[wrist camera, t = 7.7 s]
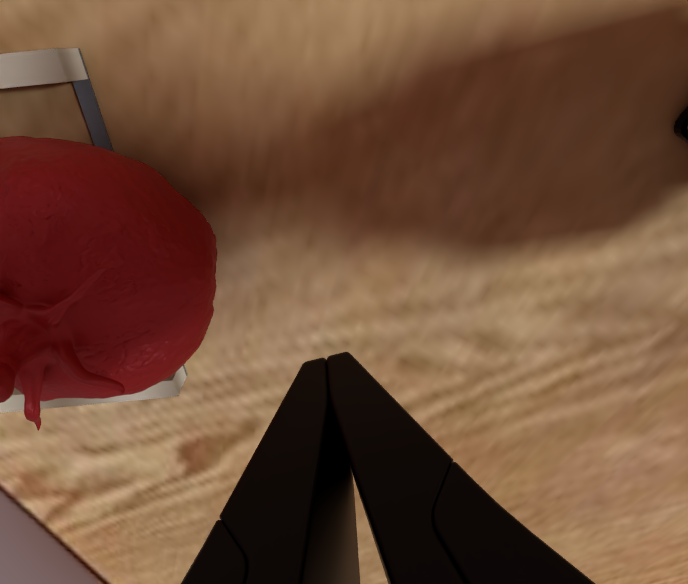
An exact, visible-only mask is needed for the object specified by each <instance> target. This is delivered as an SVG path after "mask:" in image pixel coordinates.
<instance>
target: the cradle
mask: <svg viewBox="0 0 688 584" xmlns="http://www.w3.org/2000/svg"><path fill="white" fill-rule="evenodd" d="M69 81H72V82H73V85H74V88H75V91H76V94H77V96H78V99H79V102H80V105H81V108H82V111H83V114H84V117H85V119H86V122H87V125H88V128H89V131H90V134H91V137H92V140H93V143H94V145H95V146H98V147H102V148H105V149H108V150H111V151H113V149H112V146H111V143H110V140H109V137H108V134H107V131H106V128H105V125H104V122H103V119H102V116H101V113H100V110H99V107H98V104H97V101H96V97H95V94H94V91H93V88H92V85H91V82H90V79H89V76H88V73H87V70H86V67H85V64H84V61H83V58H82V55H81V52H80V49H79V48H53V49H44V50H34V51H24V52H15V53H5V54H0V89H2V88H11V87H21V86H31V85H40V84H50V83H60V82H69ZM186 377H187V373H186V370H185V367H184V365H183V366H182V367H181V368H180V369H179V370H177V371H176V372H175V373H174V374H172V375H171V376H170V377H168V378H167V379H165V380H163V381H161V382H159V383H158V384H156V385H153V386H151V387H149V388H147V389H146V390H144V391H142V392H139V393H135V394H131V395H121V396H115V397H110V398H105V399H98V398H95V399H88V398H87V399H85V398H58V399H54V400H49V401H44V402H43V401H40V409H46V408H57V407H68V406H79V405H90V404H100V403H111V402H122V401H133V400H144V399H154V398H165V397H176V396H178V395H179V393H180V391H181V388H182V386H183V384H184V381H185V379H186ZM24 402H25V399H24V395H23V394H22V393H21V392H20V391H19V390H17V389H16V388H14V391H13V394H12V396H11V397H10V398H9V399H8V400H6V401H5V402H1V403H0V413H3V412H14V411H24Z"/></svg>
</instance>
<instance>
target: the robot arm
mask: <svg viewBox="0 0 688 584" xmlns="http://www.w3.org/2000/svg"><path fill="white" fill-rule="evenodd" d="M687 127H688V107H687V108H686V109H685V110H684V112H683V113H682V114H681V115H680V116H679V117H678V119H677V121H676V122H675V125H674V132H675V133H676V135H677V136H678V137H680V138H681V139H682V140H684V141H685V142H686V143H687V144H688V129H687ZM352 473H353V475H352ZM353 476H354V479H355V482H356V485H357V489H358V492H359V495H360V498H361V501H362V504H363V507H364V510H365V513H366V516H367V519H368V522H369V525H370V528H371V531H372V535H373V538H374V541H375V544H376V547H377V550H378V553H379V556H380V559H381V562H382V565H383V568H384V571H385V574H386V578H387V581H388V584H595V583H594V582H593V581H591V580H590V579H589V578H588V577H587V576H585V575H584V574H583V573H582V572H580V571H579V570H578V569H577V568H575V567H574V566H573V565H572V564H570V563H569V562H568V561H567V560H565V559H564V558H563V557H562V556H560V555H559V554H558V553H557V552H556V551H554V550H553V549H552V548H551V547H549V546H548V545H547V544H546V543H544V542H543V541H542V540H541V539H539V538H538V537H537V536H536V535H534V534H533V533H532V532H531V531H530V530H528V529H527V528H526V527H525V526H524V525H523V524H521V523H520V522H519V521H518V520H517V519H516V518H514V517H513V516H512V515H511V514H510V513H508V512H507V511H506V510H505V509H504V508H503V507H501V506H500V505H499V504H498V503H497V502H496V501H495V500H494V499H493V498H492V497H491V496H490V495H489V494H488V493H487V492H486V491H485V490H483V489H482V488H481V487H480V486H479V485H478V484H477V483H476V482H475V481H474V480H473V479H472V478H471V477H470V476H469V475H468V474H467V473H466V472H465V471H464V470H463V469H462V468H461V467H460V466H459V465H458V464H457V463H456V462H453V459H452V458H451V457H450V456H449V455H448V454H447V453H446V452H445V451H444V450H443V448H442V447H441V446H440V445H439V444H438V443H437V442H436V441H435V440H434V439H433V438H432V437H431V436H430V435H429V434H428V433H427V432H426V431H425V430H424V429H423V428H422V427H421V426H420V425H419V424H418V423H417V422H416V421H415V420H414V419H413V418H412V417H411V416H410V415H409V414H408V413H407V411H406V410H405V409H404V408H403V407H402V406H401V405H400V404H399V403H398V402H397V401H396V400H395V399H394V398H393V397H392V396H391V395H390V394H389V393H388V392H387V391H386V390H385V389H384V388H383V387H382V386H381V385H380V384H379V383H378V382H377V381H376V380H375V379H374V378H373V377H372V376H371V375H370V373H369V372H368V371H367V370H366V369H365V368H364V367H363V366H362V365H361V364H360V363H359V362H358V361H357V360H356V359H355V358H354V357H353V356H352V355H351V354H350V353H349V352H343V353H339V354H335V355H331V356H329V357H328V358H327V360H326V359H325V358H319V359H315V360H311V361H307V362H305V363H304V364H303V365H302V367H301V368H300V370H299V372H298V374H297V376H296V378H295V379H294V381H293V383H292V385H291V387H290V388H289V390H288V392H287V394H286V396H285V398H284V399H283V401H282V403H281V405H280V407H279V409H278V410H277V412H276V414H275V416H274V418H273V419H272V421H271V423H270V425H269V427H268V429H267V430H266V432H265V434H264V436H263V438H262V440H261V441H260V443H259V445H258V447H257V449H256V450H255V452H254V454H253V456H252V458H251V460H250V461H249V463H248V465H247V467H246V469H245V471H244V472H243V474H242V476H241V478H240V480H239V481H238V483H237V485H236V487H235V489H234V491H233V492H232V494H231V496H230V498H229V500H228V502H227V503H226V505H225V507H224V509H223V511H222V512H221V514H220V519H221V520H218V521H216V523H215V525H214V527H213V528H212V530H211V532H210V534H209V536H208V538H207V539H206V541H205V543H204V545H203V547H202V548H201V550H200V552H199V553H198V555H197V557H196V559H195V560H194V562H193V564H192V565H191V567H190V569H189V571H188V572H187V574H186V576H185V578H184V579H183V581H182V583H181V584H360V574H359V558H358V543H357V528H356V513H355V497H354V485H353Z"/></svg>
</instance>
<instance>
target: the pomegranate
mask: <svg viewBox="0 0 688 584" xmlns="http://www.w3.org/2000/svg"><path fill="white" fill-rule="evenodd" d="M216 260H217V248H216V236H215V234H214V233H213V230H212V228H211V226H210V224H209V223H208V222H207V220H206V219H205V217H204V216H203V215H202V214H201V213H200V211H199V210H198V209H196V208H195V207H194V206H193V205H192V204H191V203H190V202H189V201H188V200H187V199H186V198H184V197H183V196H182V195H180V194H179V193H178V192H177V191H176V190H174V189H173V188H172V187H171V185H170V184H169V183H168V181H167V180H166V179H165V178H164V177H162V176H161V175H160V174H159V173H158V172H157V171H156V170H154V169H153V168H151V167H149V166H147V165H146V164H144V163H141V162H138V161H135V160H133V159H130V158H128V157H124V156H122V155H120V154H118V153H115V152H113V151H111V150H108V149H105V148H102V147H98V146H94V145H89V144H84V143H79V142H72V141H66V140H60V139H52V138H32V137H25V136H17V137H4V138H0V403H1V402H5V401H6V400H8V399H9V398H10V397H11V396H12V394H13V391H14V388H16V389H17V390H19V391H20V392H21V393H22V394H23V395H24V399H25V402H24V414H25V417H26V419H27V420H29V421H33V422H34V423H35V424H36V426H37V429H38V431H39V429H40V426H41V418H40V401H43V402H44V401H49V400H54V399H58V398H85V399H87V398H88V399H95V398H98V399H105V398H110V397H115V396H121V395H131V394H135V393H139V392H142V391H144V390H146V389H147V388H149V387H151V386H153V385H156V384H158V383H159V382H161V381H163V380H165V379H167V378H168V377H170V376H171V375H172V374H174V373H175V372H176V371H177V370H179V369H180V368H181V367H182V366H183V365H184V364H185V363H186V361H187V360H188V359H189V358H190V357H191V356H192V355H193V354H194V352H195V351H196V350H197V349H198V348H199V346H200V344H201V342H202V341H203V339H204V336H205V334H206V331H207V329H208V326H209V324H210V321H211V318H212V316H213V311H214V308H213V300H214V297H215V292H216V279H215V273H216Z"/></svg>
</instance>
